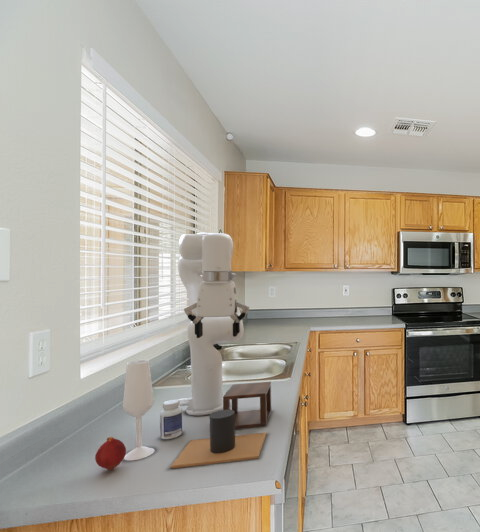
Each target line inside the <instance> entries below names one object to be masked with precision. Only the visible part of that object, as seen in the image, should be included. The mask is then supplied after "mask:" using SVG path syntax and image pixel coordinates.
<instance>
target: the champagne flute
mask: <svg viewBox="0 0 480 532" xmlns="http://www.w3.org/2000/svg"><path fill="white" fill-rule="evenodd" d="M151 373H152V372H151V366H150V360H149V359H137V360H131V361H128V362H126V369H125V379H124V387H123V388H124V389H123V400H122V409H123V411H124V412H125V413H126V414H128V415H129V416H131V417H133V418H135V436H136V438H135V439H136V440H135V441H136V444H135V445H136V447H134V448H133V449H132V450H130V451H129V452H127V453H126V455H125V457H124V459H123V460H125V461H128V462H129V461H137V460H143V459H145V458H147V457H150V456H151V455H153V454H154V453H155V449H154V448H153V447H149V446H145V445H143V427H142V426H143V424H142V423H143V422H142V421H143V419H142V418H143V416H144V415H146V414H147V413H148V412H149V410H151V408H152V407H153V405H154V403H155V397H154V389H153V382H152V374H151Z"/></svg>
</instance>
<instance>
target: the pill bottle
mask: <svg viewBox="0 0 480 532" xmlns="http://www.w3.org/2000/svg"><path fill="white" fill-rule="evenodd" d="M159 416H160V417H159V426H160V427H159V430H160V438H161V439H162V440H171V439H175V438H177V437H179V436H181V435H182V434H183V408H182V407H181V406H180V405H179V399H169V400H166V401H164V402H163V403H162V410H161V411H160V413H159Z"/></svg>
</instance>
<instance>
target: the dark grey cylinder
mask: <svg viewBox="0 0 480 532" xmlns="http://www.w3.org/2000/svg"><path fill="white" fill-rule="evenodd" d="M235 436H236V429H235V411H234V410H232V409H230V410H220V411H217V412H214V413H212V414H209V438H210V451H211V452H212V453H224V452H227V451H230V450H232V449H233V448H234V447H235Z"/></svg>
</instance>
